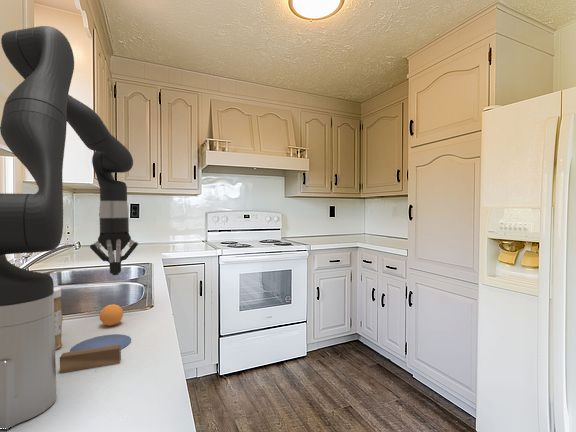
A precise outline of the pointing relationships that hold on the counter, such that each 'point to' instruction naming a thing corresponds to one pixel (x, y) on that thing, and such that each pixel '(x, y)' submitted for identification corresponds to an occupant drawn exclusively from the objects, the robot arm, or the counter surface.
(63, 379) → the counter surface
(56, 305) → the sprinkles bottle
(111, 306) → the ball
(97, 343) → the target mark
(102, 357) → the stopper wall
